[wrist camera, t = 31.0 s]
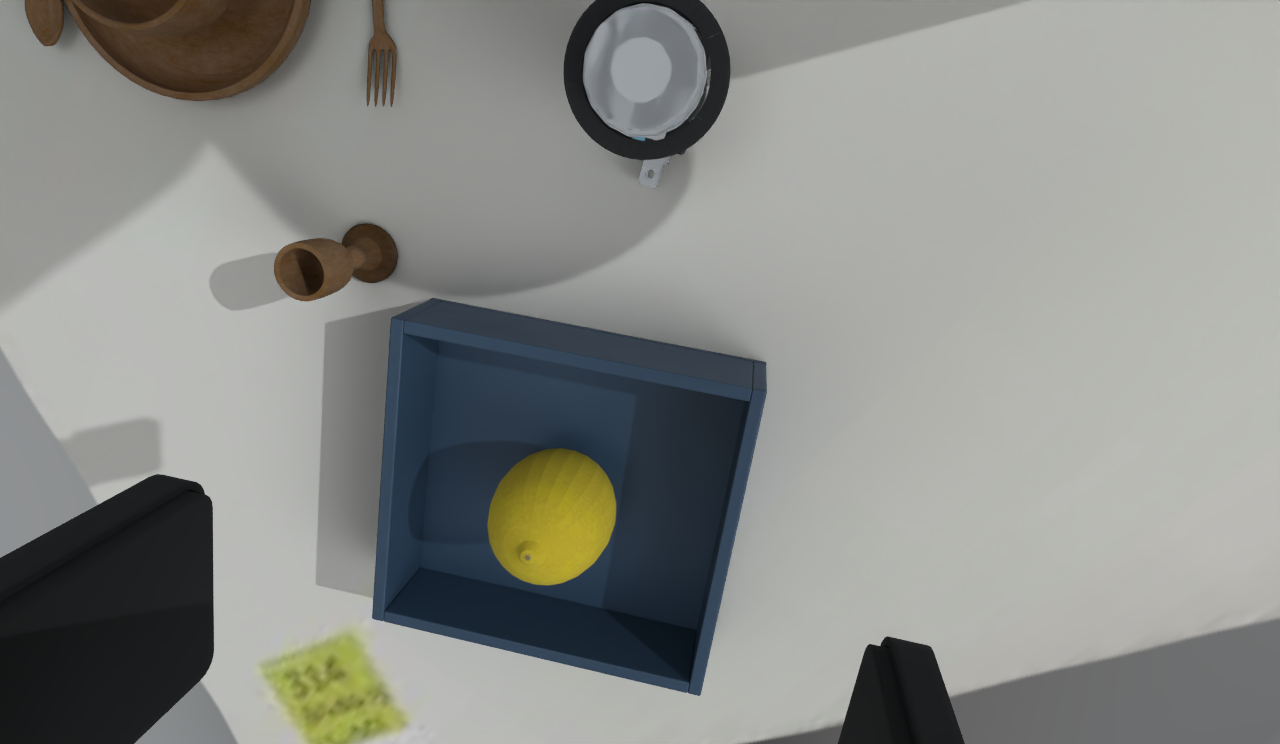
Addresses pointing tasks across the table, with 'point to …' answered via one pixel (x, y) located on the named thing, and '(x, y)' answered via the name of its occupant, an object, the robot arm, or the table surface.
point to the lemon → (551, 516)
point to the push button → (646, 77)
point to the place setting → (228, 92)
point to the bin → (576, 420)
